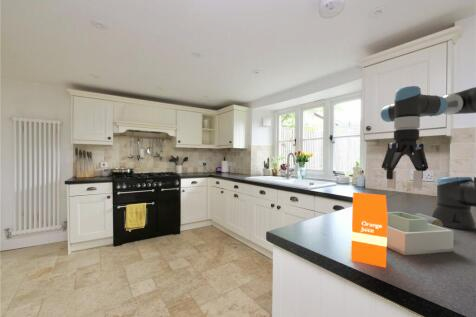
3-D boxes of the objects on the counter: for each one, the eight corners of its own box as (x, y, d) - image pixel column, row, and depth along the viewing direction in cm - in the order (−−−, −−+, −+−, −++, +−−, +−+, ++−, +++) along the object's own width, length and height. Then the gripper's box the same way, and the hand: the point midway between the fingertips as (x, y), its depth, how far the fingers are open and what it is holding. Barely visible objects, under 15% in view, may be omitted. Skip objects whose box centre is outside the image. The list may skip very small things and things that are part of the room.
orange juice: (350, 250, 72) (352, 190, 71) (382, 256, 68) (384, 193, 67) (351, 260, 65) (353, 194, 64) (386, 268, 61) (388, 197, 60)
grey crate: (402, 232, 91) (403, 216, 90) (453, 251, 73) (453, 230, 73) (361, 234, 87) (362, 217, 86) (404, 255, 69) (405, 233, 69)
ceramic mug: (432, 237, 85) (433, 218, 85) (410, 230, 93) (411, 213, 93) (449, 235, 89) (450, 217, 89) (426, 229, 96) (427, 212, 96)
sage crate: (400, 234, 85) (400, 211, 85) (426, 244, 76) (427, 219, 76) (383, 235, 84) (383, 212, 84) (408, 245, 74) (408, 219, 74)
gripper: (421, 132, 86) (419, 186, 86) (371, 129, 81) (369, 186, 82) (442, 129, 79) (440, 189, 79) (388, 126, 74) (387, 190, 74)
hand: (404, 188), depth 80 cm, fingers open, 11 cm apart
